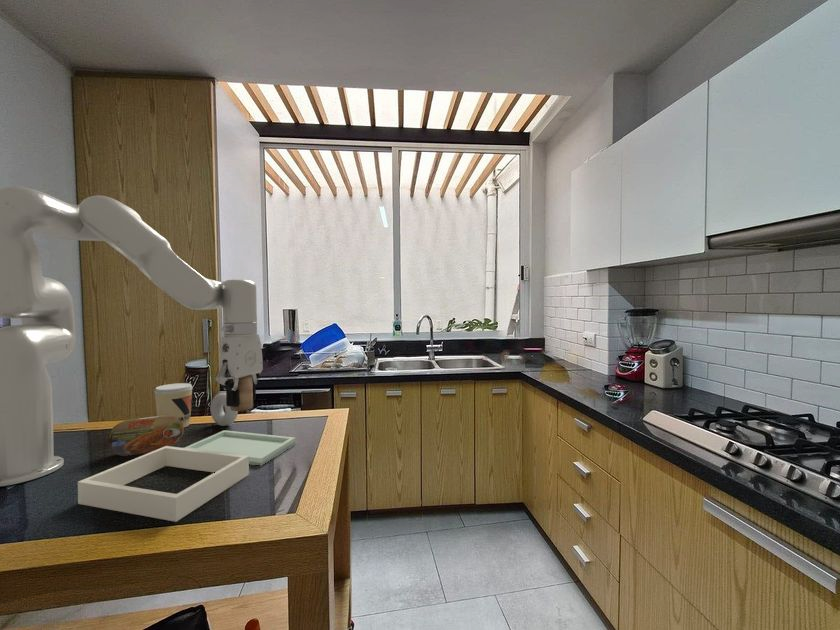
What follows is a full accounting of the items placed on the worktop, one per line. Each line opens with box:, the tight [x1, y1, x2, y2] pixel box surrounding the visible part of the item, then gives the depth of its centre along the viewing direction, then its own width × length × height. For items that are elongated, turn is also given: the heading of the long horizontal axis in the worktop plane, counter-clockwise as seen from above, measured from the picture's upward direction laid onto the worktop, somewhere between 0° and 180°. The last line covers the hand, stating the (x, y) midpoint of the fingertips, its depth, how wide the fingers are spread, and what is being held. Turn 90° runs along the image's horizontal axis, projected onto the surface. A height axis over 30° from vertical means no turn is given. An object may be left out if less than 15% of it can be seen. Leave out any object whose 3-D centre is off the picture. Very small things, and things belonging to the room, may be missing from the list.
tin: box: [106, 415, 185, 457], centre depth 87 cm, size 15×3×8 cm, turn 114°
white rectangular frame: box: [77, 446, 250, 523], centre depth 69 cm, size 22×17×4 cm
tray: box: [184, 429, 296, 467], centre depth 88 cm, size 22×13×2 cm, turn 76°
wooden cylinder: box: [230, 375, 254, 412], centre depth 87 cm, size 5×5×8 cm
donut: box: [209, 392, 239, 427], centre depth 106 cm, size 10×4×10 cm, turn 65°
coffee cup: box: [154, 382, 194, 428], centre depth 105 cm, size 9×9×12 cm
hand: (241, 402), depth 88 cm, fingers closed on wooden cylinder, 5 cm apart
